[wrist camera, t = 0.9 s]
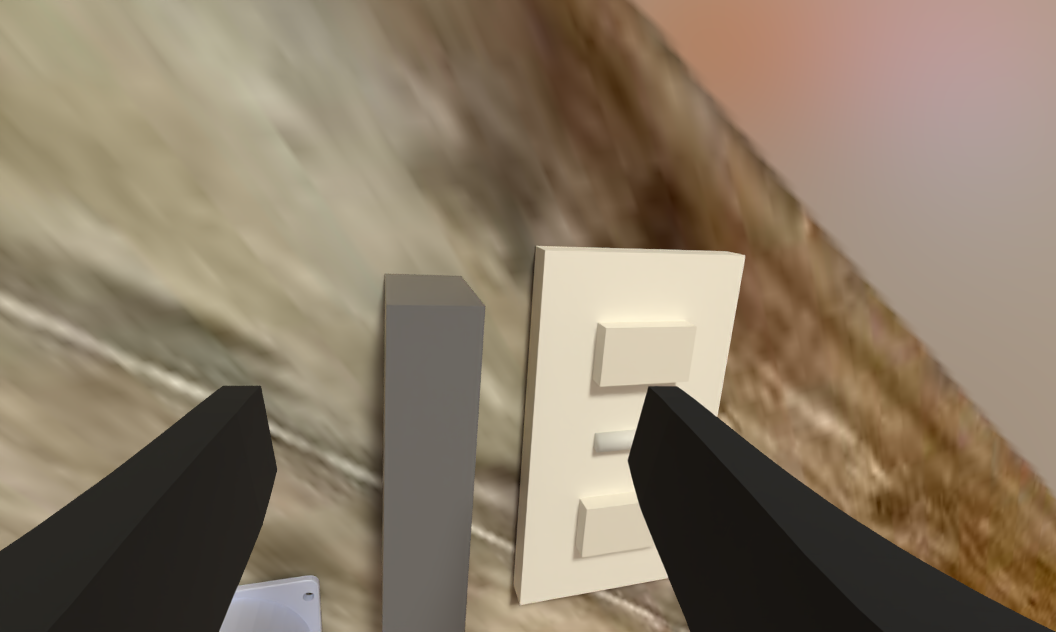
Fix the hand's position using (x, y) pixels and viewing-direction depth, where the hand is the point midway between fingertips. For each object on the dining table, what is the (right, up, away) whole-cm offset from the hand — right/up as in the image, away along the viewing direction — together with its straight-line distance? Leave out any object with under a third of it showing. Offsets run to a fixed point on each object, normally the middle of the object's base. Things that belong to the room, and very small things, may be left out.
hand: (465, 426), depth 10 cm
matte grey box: (-4, -3, +16) cm, 17 cm away
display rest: (+6, -4, +19) cm, 20 cm away
